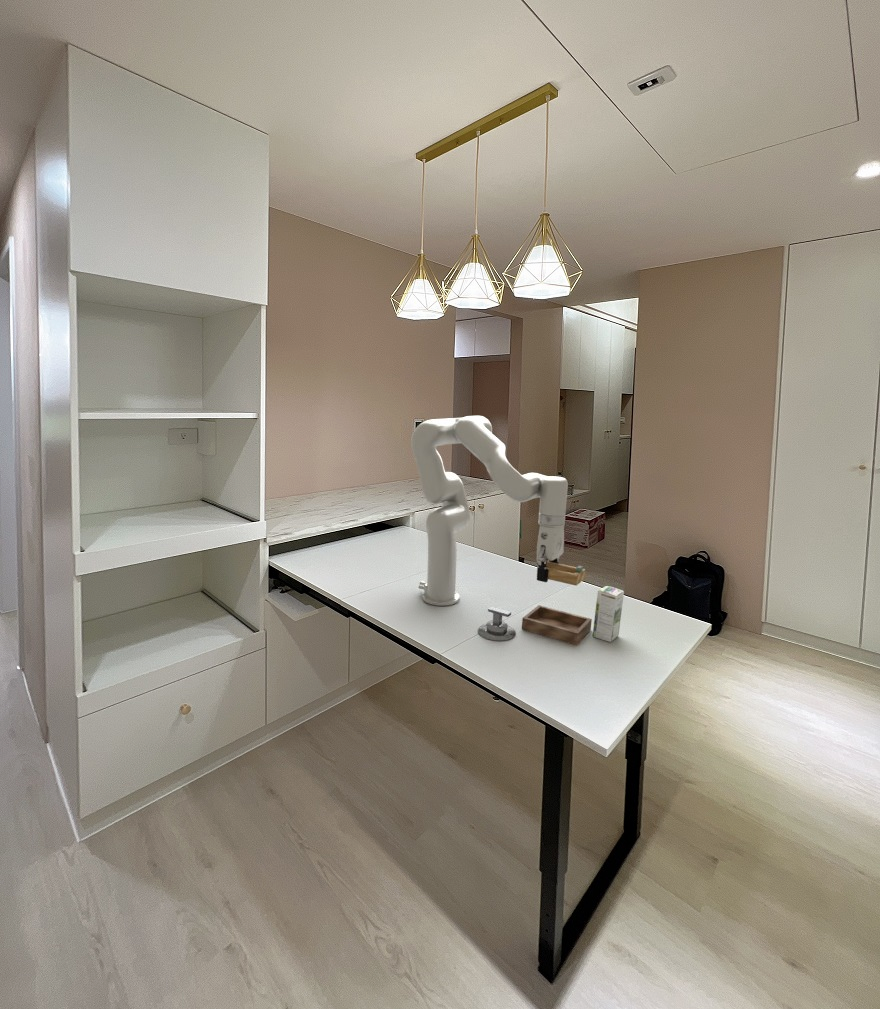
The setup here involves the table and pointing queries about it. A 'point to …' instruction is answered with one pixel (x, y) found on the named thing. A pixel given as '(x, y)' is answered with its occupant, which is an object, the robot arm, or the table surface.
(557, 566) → the light wooden frame
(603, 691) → the table surface
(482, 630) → the door handle
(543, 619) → the tray
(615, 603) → the syrup box
